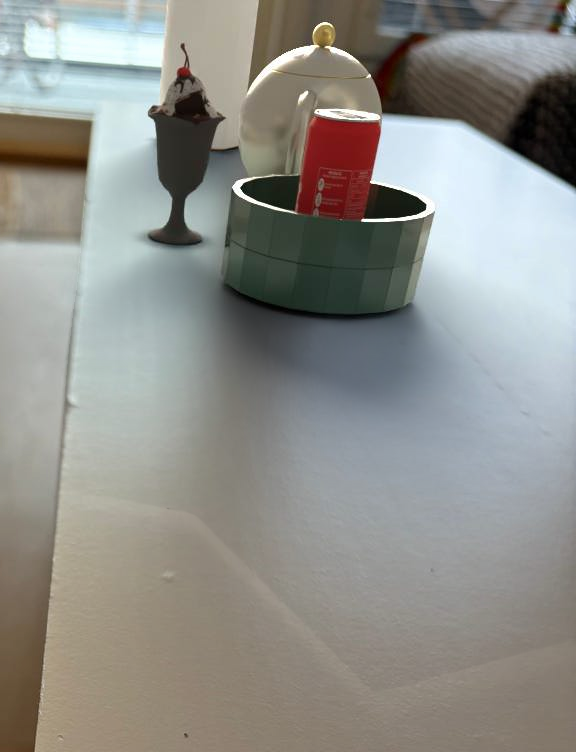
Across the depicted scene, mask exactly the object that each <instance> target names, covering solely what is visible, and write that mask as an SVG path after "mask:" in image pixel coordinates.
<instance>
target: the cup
mask: <svg viewBox="0 0 576 752" xmlns="http://www.w3.org/2000/svg"><path fill="white" fill-rule="evenodd" d="M259 2H260V0H166V10H165V11H166V12H165V21H164V22H165V23H164V33H163V34H164V36H163V48H162V60H161V73H160V86H159V99H158V106H159V105H161V104H162V103H163V102H164V101H165V97H166V94H167V91H168V88H169V86H170V85H171V83H172V82H173V81H174V80H175V79H176V78H177V70H178V69H179V68H181V67H184V64H185V60H186V55H185V53H184V52H183V50H182V49H181V47H180V46H181V44H182V43H184V44H185V50H186V52H187V55H188V59H189V70H190V72H191V74H192V75H194V76H195V77H197V78H198V79H199V80H200V81H201V82H202V83H203V85H204V87H205V90H206V95H207V97H208V100H209V101H210V102H211V104H212V105H213V106H214V108H215V109H216V111H217V112H218V113H221V114H222V116H224V117H226V119H225V120H223V121H221V122H220V123H219V124H218V126H217V129H216V132H215V136H214V139H213V143H212V147H211V151H226V150H230V149H234V148H239V144H238V123H239V117H240V112H241V108H242V105H243V102H244V99H245V97H246V95H247V93H248V91H249V82H250V75H251V66H252V57H253V50H254V42H255V35H256V27H257V18H258V10H259V4H260V3H259ZM186 67H187V64H186Z"/></svg>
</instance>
